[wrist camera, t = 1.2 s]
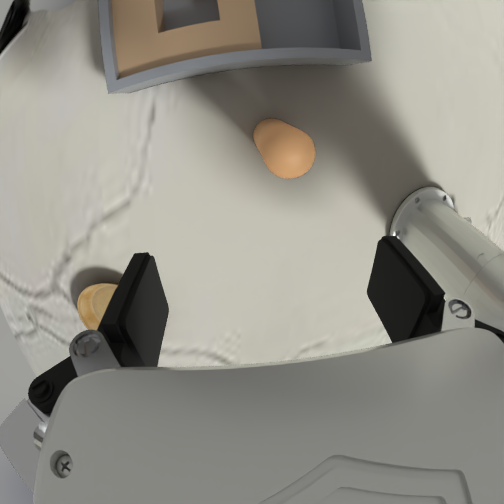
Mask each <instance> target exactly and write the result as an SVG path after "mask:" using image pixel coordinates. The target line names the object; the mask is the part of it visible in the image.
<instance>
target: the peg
mask: <svg viewBox="0 0 504 504" xmlns="http://www.w3.org/2000/svg"><path fill="white" fill-rule="evenodd" d="M253 139H254V142H255V144H256V146H257V148H258V150H259V152H260V154H261V156H262V158H263V160H264V161H265V163H266V165H267V167H268V169H269V170H270V171H271V172H272V173H274V174H275V175H277V176H279V177H282V178H288V179H290V178H296V177H299V176H302V175H303V174H305V173H306V172H307V171H308V170H309V169H310V168H311V166H312V165H313V163H314V160H315V155H316V151H315V146H314V143H313V141H312V139H311V138H310V137H309V136H308V135H307V134H306V133H305V132H303V131H301V130H299V129H297V128H295V127H293V126H291V125H289V124H287V123H285V122H283V121H280V120H278V119H274V118H269V119H265V120H263V121H261V122H260V123H258V125H257V126H256V127H255V129H254V133H253Z"/></svg>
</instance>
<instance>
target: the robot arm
mask: <svg viewBox="0 0 504 504" xmlns="http://www.w3.org/2000/svg"><path fill="white" fill-rule="evenodd" d="M367 295H368V297H369V299H370V301H371V303H372V305H373V307H374V308H375V310H376V312H377V314H378V316H379V318H380V320H381V321H382V323H383V325H384V327H385V329H386V331H387V333H388V335H389V337H390V339H391V341H392V343H390V344H386V345H381V346H376V347H371V348H366V349H361V350H356V351H350V352H344V353H339V354H332V355H326V356H319V357H312V358H305V359H297V360H288V361H279V362H269V363H257V364H244V365H228V366H201V367H157V365H158V360H159V355H160V350H161V345H162V340H163V336H164V331H165V327H166V322H167V318H168V313H169V308H168V303H167V300H166V297H165V294H164V290H163V287H162V284H161V280H160V277H159V273H158V270H157V266H156V262H155V259H154V257H153V256H150V255H149V253H148V252H147V253H135V254H134V255H133V257H132V259H131V261H130V263H129V265H128V267H127V269H126V270H125V272H124V274H123V276H122V278H121V280H120V282H119V285H118V286H117V288H116V289H115V291H114V293H113V295H112V298H111V300H110V302H109V304H108V306H107V308H106V310H105V313H104V315H103V317H102V319H101V322H100V324H99V326H98V329H97V330H92V329H91V330H86V331H83V332H81V333H79V334H78V335H76V337H75V338H74V339H73V340H72V342H71V344H70V347H69V353H70V357H68V358H66V359H65V360H63V361H62V362H60V363H58V364H57V365H55V366H54V367H52V368H51V369H49V370H47V371H46V372H44V373H43V374H41V375H40V376H38V377H37V378H36V379H34V381H33V382H32V383H31V385H30V387H29V392H28V396H29V399H28V400H25V399H23V400H22V402H20V404H19V405H18V406H17V407H16V408H15V409H14V410H13V411H12V413H11V414H10V415H9V416H8V417H7V418H6V420H5V421H4V422H3V423H2V424H1V426H0V446H1V448H2V450H3V451H4V453H5V455H6V456H7V458H8V459H9V461H10V463H11V464H12V466H13V467H14V468H15V470H16V471H17V473H18V474H19V476H20V477H21V478H22V480H23V481H24V483H25V484H26V485H27V486H28V488H29V489H30V491H31V492H32V493H33V494H34V497H33V504H504V251H503V250H501V249H500V248H499V247H498V246H497V245H496V244H495V243H494V242H492V241H491V240H490V239H489V238H488V237H487V236H485V235H484V234H483V233H482V232H481V231H479V230H478V229H477V228H476V227H474V226H473V225H472V224H471V219H470V218H469V217H467V218H463V217H462V216H460V215H459V214H458V213H456V212H455V209H454V205H453V202H452V200H451V198H450V197H449V196H448V194H446V193H445V192H444V191H442V190H440V189H439V188H435V187H425V188H421V189H419V190H417V191H415V192H413V193H412V194H411V195H410V196H408V197H407V198H406V199H405V201H404V202H403V203H402V204H401V206H400V207H399V208H398V210H397V212H396V214H395V216H394V218H393V221H392V224H391V229H390V236H383V237H382V239H381V240H379V241H378V245H377V250H376V254H375V259H374V263H373V268H372V272H371V276H370V280H369V284H368V288H367ZM444 297H445V298H446V301H445V299H444Z"/></svg>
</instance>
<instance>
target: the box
mask: <svg viewBox="0 0 504 504" xmlns="http://www.w3.org/2000/svg"><path fill="white" fill-rule="evenodd" d="M98 9H99V25H100V36H101V46H102V55H103V63H104V70H105V77H106V83H107V90H108V94H110V93H132V92H135V91H138V90H141V89H145V88H148V87H152V86H155V85H159V84H163V83H167V82H171V81H175V80H179V79H184V78H188V77H193V76H198V75H204V74H209V73H215V72H221V71H228V70H235V69H243V68H252V67H263V66H277V65H303V64H322V65H352V64H358V63H363V62H369V61H372V59H371V51H370V44H369V37H368V30H367V24H366V19H365V13H364V8H363V3H362V0H98Z"/></svg>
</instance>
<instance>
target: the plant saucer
mask: <svg viewBox="0 0 504 504" xmlns="http://www.w3.org/2000/svg"><path fill="white" fill-rule="evenodd" d="M118 285H119V284H114V283H99V284H94V285H91V286H89V287H87V288H85V289H84V290H83V291H82V292H81V293H80V295H79V297H78V301H77V308H78V313H79V316H80V318H81V320H82V322H83V323H84V325H85V326H86V328H87V329H88V330H91V329H92V330H97V329H98V326H99V324H100V322H101V319H102V317H103V315H104V313H105V310H106V308H107V306H108V304H109V302H110V300H111V298H112V295H113V293H114V291H115V289H116V288H117V286H118Z"/></svg>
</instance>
